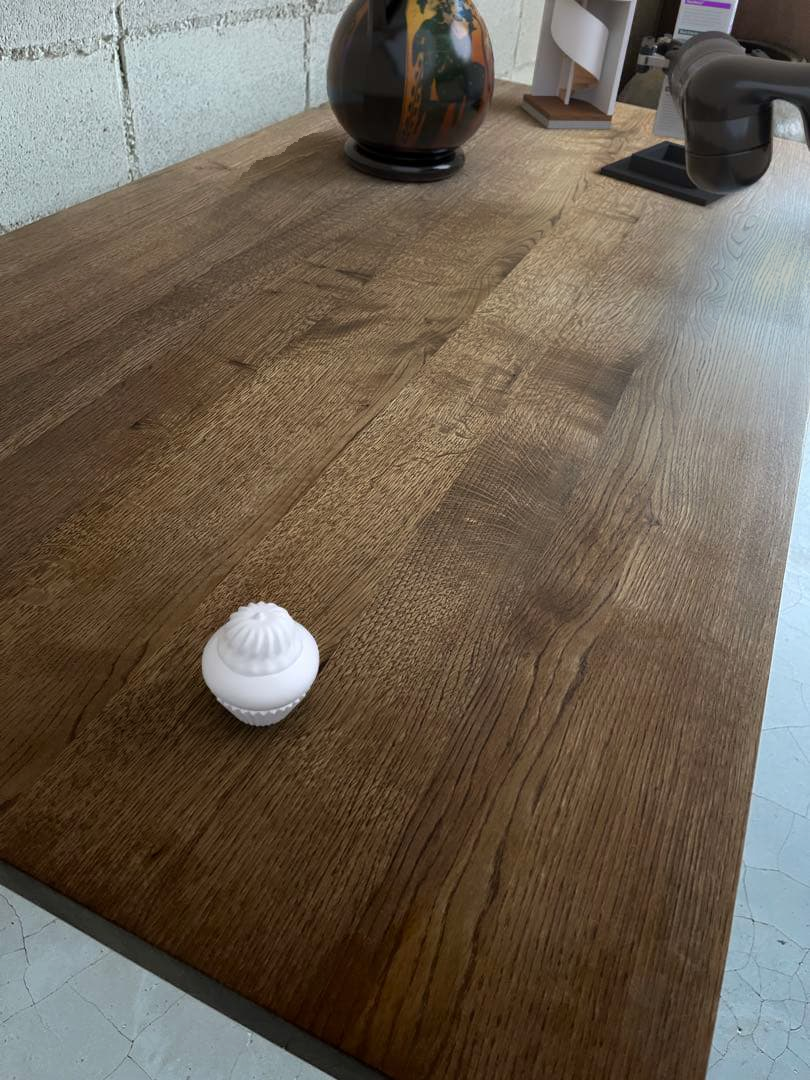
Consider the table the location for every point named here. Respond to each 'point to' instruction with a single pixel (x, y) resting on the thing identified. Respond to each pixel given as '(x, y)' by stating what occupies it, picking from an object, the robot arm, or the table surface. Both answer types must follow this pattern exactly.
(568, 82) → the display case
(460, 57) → the amphora vase
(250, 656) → the muffin
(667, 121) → the syrup box
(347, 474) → the table surface
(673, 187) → the dock pad
